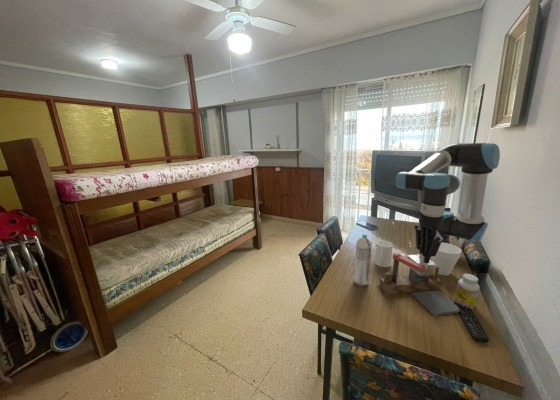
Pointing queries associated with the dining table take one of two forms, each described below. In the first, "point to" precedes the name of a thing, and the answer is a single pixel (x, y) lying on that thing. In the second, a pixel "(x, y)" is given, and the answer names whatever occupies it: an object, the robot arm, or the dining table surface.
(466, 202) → the robot arm
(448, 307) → the mat
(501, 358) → the dining table surface
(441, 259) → the cup
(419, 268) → the lever
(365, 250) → the water bottle
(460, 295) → the supplement bottle
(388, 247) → the mug
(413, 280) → the brown wooden stand
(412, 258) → the light grey block
